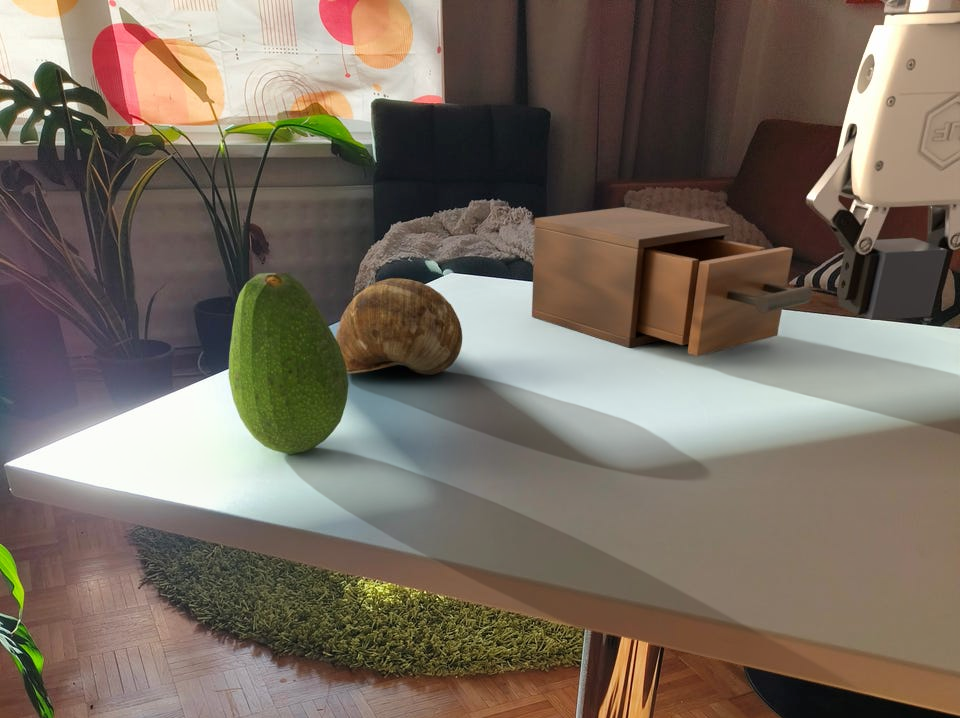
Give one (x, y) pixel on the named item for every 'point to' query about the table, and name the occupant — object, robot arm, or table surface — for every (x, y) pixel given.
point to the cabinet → (602, 267)
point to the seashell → (399, 328)
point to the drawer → (714, 293)
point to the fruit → (285, 365)
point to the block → (905, 279)
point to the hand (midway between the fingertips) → (886, 305)
